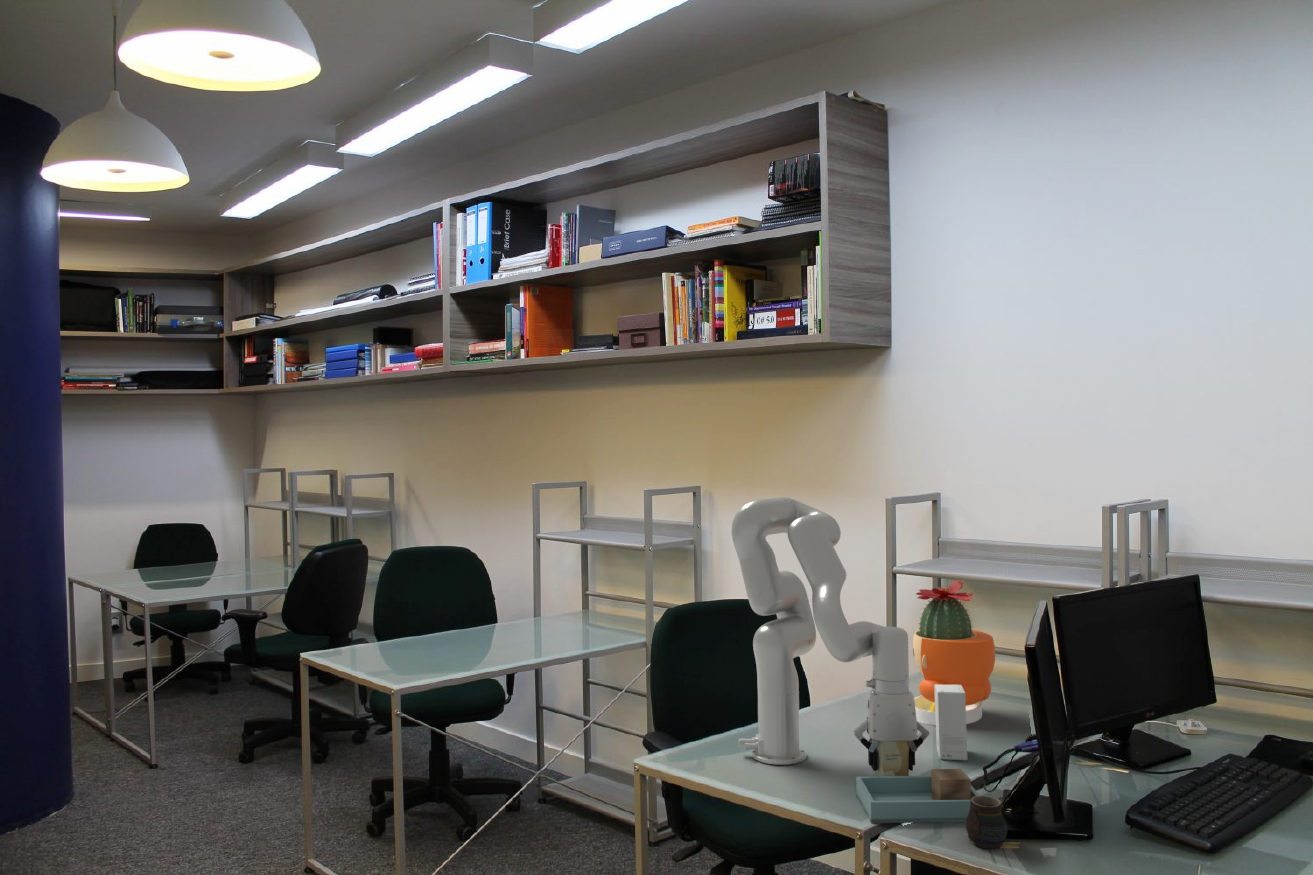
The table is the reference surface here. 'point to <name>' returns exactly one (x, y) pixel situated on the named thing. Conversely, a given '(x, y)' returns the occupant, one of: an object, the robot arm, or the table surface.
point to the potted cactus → (951, 653)
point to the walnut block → (950, 785)
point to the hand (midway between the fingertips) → (891, 767)
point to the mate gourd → (986, 822)
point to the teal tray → (907, 800)
